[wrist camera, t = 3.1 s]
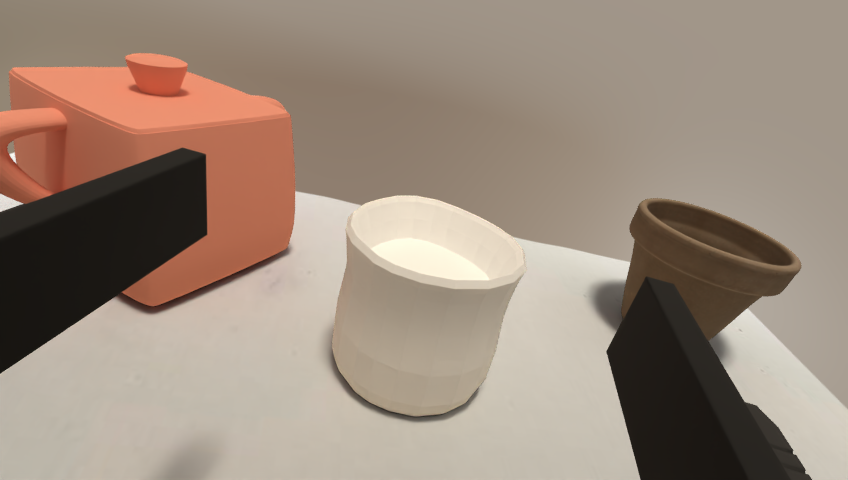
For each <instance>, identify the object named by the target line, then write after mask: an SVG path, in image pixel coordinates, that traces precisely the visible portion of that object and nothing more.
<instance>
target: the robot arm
mask: <svg viewBox="0 0 848 480" xmlns="http://www.w3.org/2000/svg"><path fill="white" fill-rule="evenodd" d="M206 235H207V179H206V154H204V153H200V152H197V151H193V150H190V149H186V148H180V149H177V150H174V151H171V152H169V153H166V154H163V155H160V156H158V157H155V158H152V159H149V160H147V161H144V162H141V163H138V164H135V165H133V166H130V167H127V168H124V169H122V170H119V171H116V172H113V173H111V174H108V175H105V176H102V177H100V178H97V179H94V180H91V181H88V182H86V183H83V184H80V185H77V186H75V187H72V188H69V189H66V190H64V191H61V192H58V193H55V194H53V195H50V196H47V197H44V198H42V199H39V200H36V201H33V202H30V203H27V204H22V205H19V206H16V207H13V208H10V209H8V210H5V211H2V212H0V373H2V372H3V371H5V370H6V369H8V368H9V367H11V366H12V365H14V364H15V363H17V362H18V361H20V360H21V359H23V358H24V357H26V356H27V355H29V354H30V353H32V352H33V351H35V350H36V349H38V348H39V347H41V346H42V345H44V344H45V343H47V342H48V341H50V340H51V339H53V338H54V337H56V336H57V335H59V334H60V333H61V332H63V331H64V330H66V329H67V328H69V327H70V326H72V325H73V324H75V323H76V322H78V321H79V320H81V319H82V318H84V317H85V316H87V315H88V314H90V313H91V312H93V311H94V310H96V309H97V308H99V307H100V306H102V305H103V304H105V303H106V302H108V301H109V300H111V299H112V298H114V297H115V296H117V295H118V294H120V293H121V292H123V291H124V290H126V289H127V288H129V287H130V286H132V285H133V284H135V283H136V282H138V281H139V280H141V279H142V278H144V277H145V276H147V275H148V274H150V273H151V272H152V271H154V270H155V269H157V268H158V267H160V266H161V265H163V264H164V263H166V262H167V261H169V260H170V259H172V258H173V257H175V256H176V255H178V254H179V253H181V252H182V251H184V250H185V249H187V248H188V247H190V246H191V245H193V244H194V243H196V242H197V241H199V240H200V239H202V238H203V237H205V236H206ZM607 355H608V359H609V363H610V366H611V370H612V374H613V378H614V381H615V385H616V389H617V392H618V396H619V400H620V404H621V407H622V411H623V415H624V419H625V422H626V426H627V430H628V434H629V437H630V441H631V445H632V449H633V452H634V456H635V460H636V464H637V467H638V471H639V475H640V479H641V480H812V479H811V477H810V476H809V475H807V474H805V468H804V467H803V465H802V463H801V462H800V460H799V459H798V457H797V456H796V455H794V454H793V449H792V448H791V446H790V445H789V443H788V442H787V440H786V439H785V437H784V435H783V434H782V432H781V431H780V429H779V428H778V427H777V426H776V425H775V424H774V423H773V422H772V421H771V420H770V419H769V418H768V417H767V416H766V415H765V414H764V413H763V412H762V411H761V410H760V409H759V408H758V407H757V406H756V405H753V404H749V403H746V402H744V400H743V399H742V397H741V395H740V394H739V392H738V390H737V389H736V387H735V385H734V384H733V382H732V380H731V379H730V377H729V375H728V374H727V372H726V370H725V369H724V367H723V365H722V364H721V362H720V360H719V359H718V357H717V355H716V354H715V352H714V350H713V348H712V347H711V345H710V343H709V342H708V340H707V338H706V337H705V335H704V333H703V332H702V330H701V328H700V327H699V325H698V323H697V322H696V320H695V318H694V317H693V315H692V313H691V312H690V310H689V308H688V307H687V305H686V303H685V302H684V300H683V298H682V297H681V295H680V293H679V292H678V290H677V288H676V287H675V285H674V284H672V283H669V282H665V281H661V280H658V279H654V278H651V277H647V276H646V277H645V279H644V281H643V283H642V285H641V287H640V289H639V291H638V292H637V294H636V296H635V298H634V300H633V302H632V304H631V306H630V308H629V310H628V311H627V313H626V315H625V317H624V319H623V321H622V323H621V325H620V327H619V328H618V330H617V332H616V334H615V336H614V338H613V340H612V342H611V344H610V346H609V347H608V349H607Z"/></svg>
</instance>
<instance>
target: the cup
mask: <svg viewBox="0 0 848 480" xmlns="http://www.w3.org/2000/svg"><path fill="white" fill-rule="evenodd" d="M346 239H347V264H346V269H345V273H344V277H343V281H342V285H341V289H340V293H339V297H338V302H337V309H336V316H335V323H334V330H333V339H332V348H333V354H334V358H335V361H336V364H337V367H338V369H339V371H340V373H341V374H342V375H343V377H344V378H345V379H346V381H347V382H348V383H349V384H350V386H351V387H352V388H353V390H354V391H355V392H356V393H357V394H358V395H360V396H361V397H362V398H364V399H365V400H367V401H368V402H369V403H372V404H374V405H376V406H378V407H381V408H383V409H385V410H387V411H391V412H395V413H400V414H405V415H409V416H414V417H415V416H426V415H437V414H443V413H446V412H448V411H450V410H452V409H454V408H456V407H458V406H460V405H463V404H465V403H466V402H467V400H468V399H469V398H470V397H471V396H472V394H473V393H474V392H475V391H476V389H477V388H478V387H479V386H480V385H481V383H482V382H483V381H484V380H485V379H486V376H487V373H488V370H489V368H490V365H491V362H492V360H493V357H494V354H495V351H496V348H497V343H498V339H499V334H500V330H501V326H502V322H503V318H504V314H505V312H506V309H507V306H508V303H509V301H510V299H511V297H512V295H513V292H514V290H515V288H516V286H517V284H518V283H519V281H520V279H521V278H522V276H523V275H524V273H525V272H526V271H527V269H526V261H525V255H524V252H523V249H522V248H521V247H520V246H519V244H518V243H517V242H516V241H515V240H514V238H513V237H512V236H510V235H509V234H507V233H506V232H504V231H503V230H501V229H500V228H498V227H497V226H495V225H494V224H492V223H490V222H488V221H486V220H484V219H482V218H480V217H479V216H477V215H474V214H472V213H470V212H467V211H465V210H462V209H460V208H458V207H456V206H453V205H450V204H447V203H445V202H442V201H439V200H436V199H430V198H425V197H420V196H393V197H387V198H382V199H377V200H375V201H372V202H369V203H366V204H364V205H362V206H361V207H360V208H359V209H357V210H356V211H355V212H353V213H352V214H351V215H350V216H349V217H348V221H347V226H346Z"/></svg>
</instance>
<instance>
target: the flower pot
mask: <svg viewBox="0 0 848 480" xmlns="http://www.w3.org/2000/svg"><path fill="white" fill-rule="evenodd" d="M630 233H631V235H632V237H633V238H634V239H635V243H634V248H633V254H632V259H631V263H630V267H629V272H628V276H627V280H626V285H625V290H624V295H623V301H622V308H621V314H622V317H623V319H624V317H625V315H626V313H627V311H628V310H629V308H630V306H631V304H632V302H633V300H634V298H635V296H636V294H637V292H638V291H639V289H640V287H641V285H642V283H643V281H644V279H645V277H646V276H647V277H651V278H654V279H658V280H661V281H665V282H669V283H672V284H674V285H675V287H676V288H677V290H678V292H679V293H680V295H681V297H682V298H683V300H684V302H685V303H686V305H687V307H688V308H689V310H690V312H691V313H692V315H693V317H694V318H695V320H696V322H697V323H698V325H699V327H700V328H701V330H702V332H703V333H704V335H705V337H706V338H707V340H708V341H709V340H710V339H711V338H713V337H714V336H715V335H716V334H718V333H719V332H720V331H721V330H722V329H724V328H725V327H726V326H727V325H728V324H729V323H731V322H732V321H733V320H734V319H735V318H736V317H737V316H739V315H740V314H741V313H742V312H743V311H744V310H746V309H747V308H748V307H749V306H750V305H752V304H753V303H754V302H755V301H757V300H758V299H759V298H761V297H762V296H774V295H778V294H780V293H781V292H782V291H783V290H784V289H785V288H786V287H787V285H788V284H789V283H790V281H791V280H792V279H793V278H794V276H795V275H796V274H797V273H798V272H799V271H800V269H801V262H800V260H799V259H798V257H797V256H796V255H795V254H794V253H793V252H792V251H790V250H789V249H788V248H787V247H785V246H784V245H782V244H781V243H779V242H778V241H776V240H775V239H773V238H771V237H769V236H768V235H766V234H764V233H762V232H760V231H758V230H756V229H754V228H752V227H750V226H748V225H746V224H744V223H741V222H739V221H737V220H735V219H732V218H730V217H727V216H725V215H722V214H720V213H716V212H714V211H711V210H708V209H705V208H702V207H699V206H695V205H692V204H688V203H684V202H680V201H675V200H669V199H658V198H653V199H652V198H651V199H646V200H644V201H642V202H641V203H640V204H639V206H638V209H637V211H636V213H635V215H634V217H633V219H632V221H631V224H630Z"/></svg>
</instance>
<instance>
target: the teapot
mask: <svg viewBox="0 0 848 480" xmlns="http://www.w3.org/2000/svg"><path fill="white" fill-rule="evenodd" d="M125 59H126V62H127V65H128V67H17V68H16V67H13V68H12V70H11V71H9V83H10V100H11V111H2V112H0V194H3V195H5V196H7V197H9V198H12V199H14V200H16V201H19V202H21V203H23V204H27V203H30V202H33V201H36V200H39V199H42V198H44V197H47V196H50V195H53V194H55V193H58V192H61V191H64V190H66V189H69V188H72V187H75V186H77V185H80V184H83V183H86V182H88V181H91V180H94V179H97V178H100V177H102V176H105V175H108V174H111V173H113V172H116V171H119V170H122V169H124V168H127V167H130V166H133V165H135V164H138V163H141V162H144V161H147V160H149V159H152V158H155V157H158V156H160V155H163V154H166V153H169V152H171V151H174V150H177V149H180V148H186V149H190V150H193V151H197V152H200V153H204V154H206V179H207V235H206V236H205V237H203V238H202V239H200V240H199V241H197V242H196V243H194V244H193V245H191V246H190V247H188V248H187V249H185V250H184V251H182V252H181V253H179V254H178V255H176V256H175V257H173V258H172V259H170V260H169V261H167V262H166V263H164V264H163V265H161V266H160V267H158V268H157V269H155V270H154V271H152V272H151V273H150V274H148V275H147V276H145V277H144V278H142V279H141V280H139V281H138V282H136V283H135V284H133V285H132V286H130V287H129V288H127V289H126V290H124V291H123V292H122V293H123V294H125V295H127V296H129V297H131V298H132V299H134V300H136V301H138V302H140V303H142V304H145V305H149V306H157V305H160V304H163V303H165V302H168V301H170V300H173V299H175V298H178V297H180V296H182V295H185V294H187V293H190V292H192V291H194V290H197V289H199V288H201V287H204V286H206V285H208V284H210V283H213V282H215V281H217V280H220V279H222V278H224V277H227V276H229V275H231V274H234V273H236V272H238V271H240V270H242V269H245V268H247V267H249V266H251V265H253V264H256V263H258V262H260V261H262V260H264V259H266V258H269V257H271V256H273V255H275V254H277V253H279V252H281V251H283V250H285V249H286V248H287V247H288V244H289V241H290V237H291V234H292V230H293V225H294V214H295V165H294V149H293V136H292V124H291V116H290V115H289V113H288V112H287V111H285V108H284V106H283V105H282V104H281V103H280V102H278V101H276V100H275V99H272V98H268V97H264V96H251V95H249V94H246V93H243V92H241V91H238V90H236V89H234V88H231V87H228V86H226V85H223V84H220V83H218V82H215V81H212V80H209V79H207V78H204V77H201V76H198V75H195V74H193V73H190V72H187V66H188V65H187V63H185V62H183V61H182V60H180V59H177V58H174V57H170V56H165V55H159V54H149V53H135V54H130V55H127V56H125ZM13 140H14V149H15V157H16V163H17V164H16V163H15V162H14V161H13V160H12V158H11V157H10V155H9V153H8V151H7V146H8V144H9V143H10V142H12V141H13Z"/></svg>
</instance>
